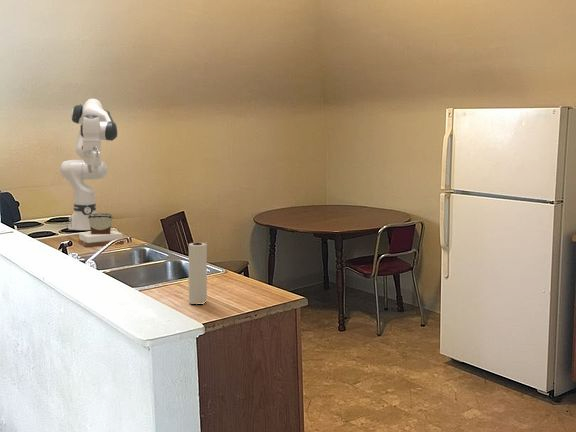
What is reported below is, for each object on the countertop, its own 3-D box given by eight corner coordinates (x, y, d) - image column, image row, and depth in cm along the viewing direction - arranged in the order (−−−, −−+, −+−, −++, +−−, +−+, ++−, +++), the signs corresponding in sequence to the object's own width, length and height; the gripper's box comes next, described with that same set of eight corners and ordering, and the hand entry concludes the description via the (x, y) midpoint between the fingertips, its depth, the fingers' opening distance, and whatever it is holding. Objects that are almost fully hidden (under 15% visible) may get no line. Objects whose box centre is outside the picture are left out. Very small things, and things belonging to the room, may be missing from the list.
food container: (115, 232, 341) (114, 212, 340) (113, 234, 335) (112, 214, 334) (90, 232, 340) (89, 212, 338) (88, 234, 334) (87, 214, 332)
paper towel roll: (191, 306, 231) (191, 245, 228) (186, 301, 236) (186, 242, 233) (211, 304, 234) (211, 244, 230) (206, 300, 239) (206, 241, 236)
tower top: (79, 239, 337) (79, 233, 337) (113, 235, 348) (113, 230, 347) (87, 242, 328) (87, 236, 327) (122, 239, 338) (122, 233, 338)
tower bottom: (78, 244, 338) (78, 238, 338) (115, 241, 348) (115, 235, 348) (85, 249, 328) (85, 243, 327) (123, 245, 337) (123, 239, 337)
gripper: (103, 147, 334) (104, 175, 336) (93, 146, 352) (93, 172, 354) (91, 148, 331) (91, 175, 333) (80, 146, 349) (81, 172, 351)
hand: (92, 173), depth 344 cm, fingers open, 8 cm apart
